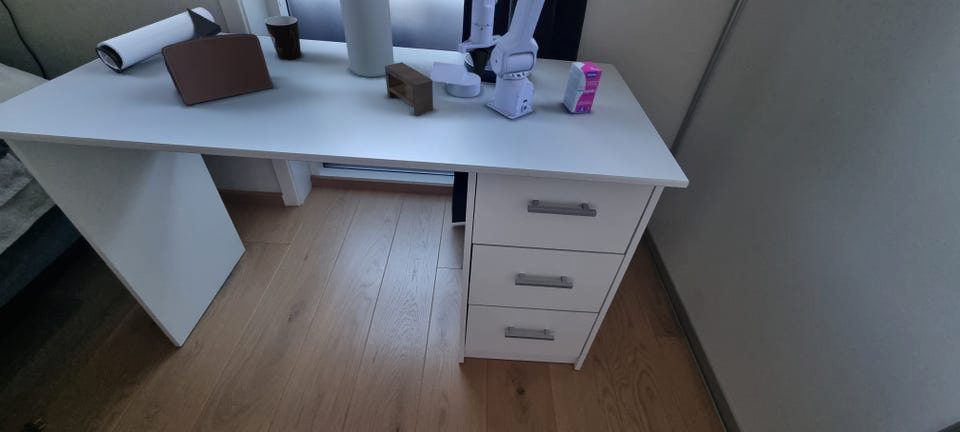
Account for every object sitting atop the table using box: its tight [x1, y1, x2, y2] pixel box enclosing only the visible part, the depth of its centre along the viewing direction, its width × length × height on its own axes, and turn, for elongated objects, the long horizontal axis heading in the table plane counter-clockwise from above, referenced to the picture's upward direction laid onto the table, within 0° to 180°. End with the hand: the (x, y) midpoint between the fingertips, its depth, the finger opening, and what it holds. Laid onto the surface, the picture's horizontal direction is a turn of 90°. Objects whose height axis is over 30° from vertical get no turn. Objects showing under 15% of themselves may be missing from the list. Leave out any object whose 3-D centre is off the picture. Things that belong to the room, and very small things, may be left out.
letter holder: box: [160, 33, 274, 107], centre depth 95 cm, size 10×20×14 cm, turn 129°
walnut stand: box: [385, 62, 434, 117], centre depth 98 cm, size 13×5×8 cm, turn 42°
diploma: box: [94, 6, 223, 74], centre depth 111 cm, size 35×9×14 cm
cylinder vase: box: [339, 0, 395, 78], centre depth 107 cm, size 12×12×25 cm
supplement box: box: [561, 61, 603, 114], centre depth 101 cm, size 6×6×12 cm
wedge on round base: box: [429, 61, 482, 98], centre depth 107 cm, size 9×7×13 cm
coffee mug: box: [263, 15, 302, 61], centre depth 114 cm, size 12×9×10 cm
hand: (478, 74), depth 112 cm, fingers closed
